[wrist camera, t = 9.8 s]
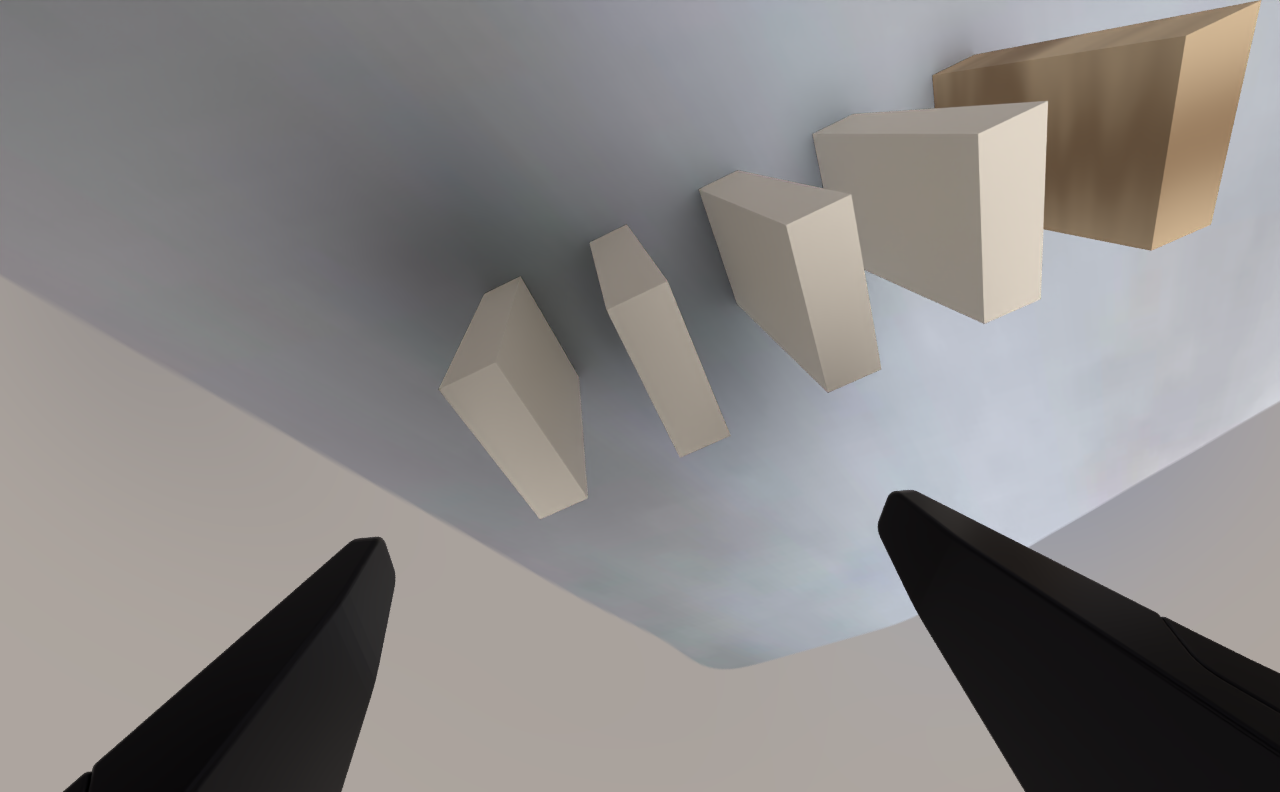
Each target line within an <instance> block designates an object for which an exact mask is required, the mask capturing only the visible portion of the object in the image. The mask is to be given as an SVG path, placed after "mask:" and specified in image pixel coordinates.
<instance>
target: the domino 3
mask: <svg viewBox="0 0 1280 792" xmlns="http://www.w3.org/2000/svg"><path fill="white" fill-rule="evenodd" d="M699 192H700V195H701V198H702V201H703V204H704V207H705V210H706V213H707V216H708V219H709V222H710V225H711V228H712V231H713V234H714V237H715V240H716V243H717V246H718V249H719V252H720V255H721V258H722V261H723V264H724V267H725V270H726V273H727V276H728V279H729V282H730V285H731V288H732V291H733V294H734V297H735V300H736V303H737V305H738V306H739V307H740V308H741V309H742V310H744V311H745V312H746V313H747V314H748V315H749V316H750V317H751V318H752V319H753V320H754V321H755V322H756V323H757V324H758V325H759V326H760V327H761V328H762V329H763V330H764V331H765V332H766V333H767V334H768V335H769V336H770V337H771V338H772V339H773V340H774V341H775V342H776V343H777V344H778V345H779V346H780V347H781V348H782V349H783V350H785V351H786V352H787V353H788V354H789V355H790V356H791V357H792V358H793V359H794V360H795V361H796V362H797V363H798V364H799V365H800V366H801V367H802V368H803V369H804V370H805V371H806V372H807V373H808V374H809V375H810V376H811V377H812V378H813V379H814V380H815V381H816V382H817V383H818V384H819V385H820V386H821V387H822V388H823V389H825V390H826V391H827V392H828V393H829V392H831V391H833V390H835V389H838V388H840V387H842V386H845V385H847V384H849V383H851V382H854V381H856V380H858V379H861V378H863V377H865V376H867V375H870V374H872V373H874V372H876V371H879V370H881V365H880V359H879V353H878V347H877V341H876V336H875V330H874V324H873V318H872V312H871V306H870V301H869V295H868V289H867V283H866V277H865V271H864V266H863V260H862V254H861V248H860V242H859V236H858V231H857V225H856V219H855V213H854V207H853V201H852V195H851V194H848V193H843V192H838V191H833V190H829V189H824V188H819V187H815V186H810V185H805V184H800V183H796V182H791V181H786V180H781V179H777V178H772V177H767V176H763V175H758V174H753V173H748V172H744V171H739V170H737V171H735V172H733V173H731V174H729V175H727V176H725V177H723V178H721V179H719V180H717V181H715V182H713V183H710V184H708V185H706V186H704V187H702V188H700V189H699Z"/></svg>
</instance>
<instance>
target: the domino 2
mask: <svg viewBox="0 0 1280 792" xmlns="http://www.w3.org/2000/svg"><path fill="white" fill-rule="evenodd" d="M589 243H590V247H591V251H592V255H593V259H594V263H595V267H596V271H597V275H598V279H599V283H600V287H601V290H602V294H603V298H604V302H605V306H606V310H607V312H608V314H609V316H610V318H611V320H612V322H613V324H614V326H615V328H616V330H617V332H618V334H619V336H620V338H621V340H622V342H623V344H624V346H625V348H626V350H627V352H628V354H629V356H630V358H631V360H632V362H633V364H634V366H635V368H636V370H637V372H638V374H639V376H640V378H641V380H642V382H643V384H644V386H645V388H646V390H647V392H648V394H649V396H650V399H651V401H652V403H653V405H654V407H655V409H656V411H657V413H658V415H659V417H660V419H661V421H662V423H663V425H664V427H665V429H666V431H667V433H668V435H669V437H670V439H671V441H672V443H673V445H674V447H675V449H676V451H677V453H678V455H679V457H680V458H681V457H683V456H685V455H688V454H690V453H692V452H694V451H697V450H699V449H701V448H704V447H706V446H708V445H710V444H713V443H715V442H717V441H719V440H722V439H724V438H726V437H729V436H731V435H730V433H729V430H728V428H727V426H726V423H725V421H724V418H723V416H722V413H721V411H720V408H719V406H718V404H717V401H716V399H715V396H714V394H713V391H712V389H711V386H710V384H709V381H708V379H707V377H706V374H705V372H704V369H703V367H702V364H701V362H700V359H699V357H698V354H697V352H696V350H695V347H694V345H693V342H692V340H691V337H690V335H689V332H688V330H687V328H686V325H685V323H684V320H683V318H682V315H681V313H680V310H679V308H678V305H677V303H676V301H675V298H674V296H673V293H672V291H671V288H670V286H669V283H668V281H667V280H666V278H665V277H664V275H663V274H662V273H661V271H660V270H659V268H658V267H657V266H656V264H655V263H654V261H653V260H652V259H651V257H650V256H649V255H648V253H647V252H646V250H645V249H644V248H643V246H642V245H641V243H640V242H639V241H638V239H637V238H636V236H635V235H634V234H633V232H632V231H631V229H630V228H629V227H628V225H627V224H626V225H624V226H622V227H620V228H618V229H616V230H614V231H612V232H610V233H608V234H606V235H604V236H602V237H600V238H598V239H596V240H594V241H591V242H589Z"/></svg>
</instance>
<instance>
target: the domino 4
mask: <svg viewBox="0 0 1280 792" xmlns="http://www.w3.org/2000/svg"><path fill="white" fill-rule="evenodd" d="M1047 115H1048V101H1038V102H1023V103H1008V104H994V105H979V106H964V107H949V108H934V109H919V110H904V111H890V112H875V113H860V114H852V115H850V116H848V117H846V118H844V119H842V120H840V121H838V122H836V123H834V124H831V125H829V126H827V127H825V128H823V129H821V130H819V131H817V132H815V133H813V139H814V144H815V149H816V154H817V159H818V164H819V169H820V174H821V179H822V184H823V188H824V189H829V190H833V191H838V192H843V193H848V194H851V195H852V201H853V207H854V213H855V219H856V225H857V231H858V236H859V242H860V248H861V254H862V260H863V266H864V270H866V271H868V272H870V273H872V274H874V275H877V276H879V277H881V278H883V279H886V280H888V281H890V282H892V283H894V284H897V285H899V286H901V287H903V288H906V289H908V290H910V291H912V292H915V293H917V294H919V295H921V296H923V297H926V298H928V299H930V300H932V301H935V302H937V303H939V304H941V305H943V306H946V307H948V308H950V309H952V310H955V311H957V312H959V313H961V314H963V315H966V316H968V317H970V318H972V319H975V320H977V321H979V322H981V323H983V324H985V323H987V322H990V321H992V320H994V319H997V318H999V317H1001V316H1003V315H1006V314H1008V313H1010V312H1012V311H1015V310H1017V309H1019V308H1022V307H1024V306H1026V305H1028V304H1031V303H1033V302H1035V301H1037V300H1040V299H1041V277H1042V250H1043V223H1044V196H1045V169H1046V142H1047Z"/></svg>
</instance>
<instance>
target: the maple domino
mask: <svg viewBox="0 0 1280 792" xmlns="http://www.w3.org/2000/svg"><path fill="white" fill-rule="evenodd" d="M1260 3H1261V0H1260V1H1254V2H1249V3H1244V4H1239V5H1233V6H1228V7H1223V8H1218V9H1212V10H1207V11H1202V12H1197V13H1191V14H1186V15H1181V16H1176V17H1170V18H1165V19H1160V20H1155V21H1149V22H1144V23H1139V24H1134V25H1128V26H1123V27H1118V28H1113V29H1107V30H1102V31H1097V32H1092V33H1086V34H1081V35H1076V36H1071V37H1065V38H1060V39H1055V40H1050V41H1044V42H1039V43H1034V44H1029V45H1023V46H1018V47H1013V48H1008V49H1002V50H997V51H992V52H987V53H981V54H976V55H973V56H971V57H969V58H967V59H965V60H963V61H961V62H959V63H957V64H955V65H953V66H951V67H949V68H947V69H945V70H942V71H940V72H938V73H936V74H934V75H932V76H933V90H934V103H935V108H949V107H964V106H979V105H994V104H1008V103H1023V102H1038V101H1048V115H1047V142H1046V169H1045V196H1044V223H1043V229H1045V230H1050V231H1055V232H1060V233H1065V234H1070V235H1075V236H1080V237H1085V238H1090V239H1095V240H1100V241H1105V242H1110V243H1115V244H1120V245H1126V246H1131V247H1136V248H1141V249H1146V250H1154V249H1156V248H1158V247H1161V246H1163V245H1165V244H1167V243H1170V242H1172V241H1174V240H1176V239H1179V238H1181V237H1183V236H1186V235H1188V234H1190V233H1192V232H1195V231H1197V230H1199V229H1202V228H1204V227H1206V226H1208V225H1211V222H1212V217H1213V213H1214V208H1215V204H1216V200H1217V195H1218V191H1219V186H1220V182H1221V177H1222V173H1223V168H1224V164H1225V159H1226V155H1227V150H1228V146H1229V142H1230V137H1231V133H1232V128H1233V124H1234V119H1235V115H1236V110H1237V106H1238V101H1239V97H1240V93H1241V88H1242V84H1243V79H1244V75H1245V70H1246V66H1247V61H1248V57H1249V52H1250V48H1251V44H1252V39H1253V35H1254V30H1255V26H1256V21H1257V17H1258V12H1259V8H1260Z"/></svg>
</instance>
